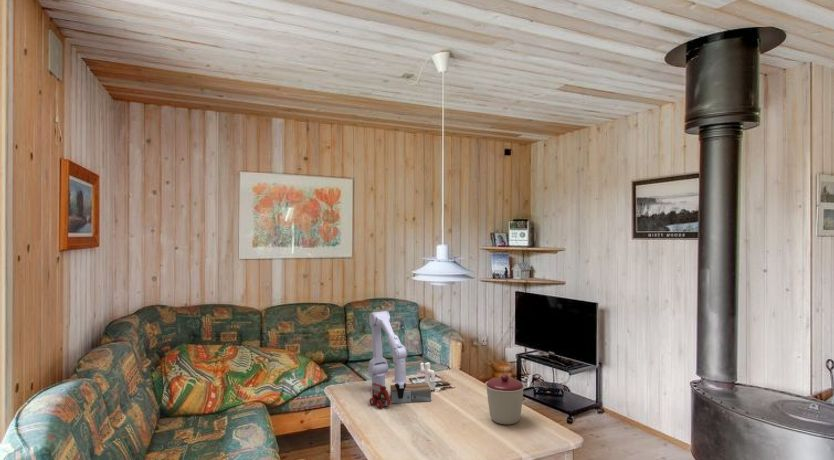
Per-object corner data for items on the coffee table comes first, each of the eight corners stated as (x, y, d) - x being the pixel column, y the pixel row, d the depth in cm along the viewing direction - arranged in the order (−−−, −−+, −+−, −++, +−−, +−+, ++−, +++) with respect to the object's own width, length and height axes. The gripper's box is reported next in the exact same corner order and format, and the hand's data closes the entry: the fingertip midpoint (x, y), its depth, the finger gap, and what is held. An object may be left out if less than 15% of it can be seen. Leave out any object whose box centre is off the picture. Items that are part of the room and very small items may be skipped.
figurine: (430, 393, 250) (430, 365, 250) (416, 390, 256) (416, 362, 256) (438, 390, 256) (438, 362, 256) (425, 386, 262) (424, 360, 262)
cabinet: (390, 396, 247) (390, 384, 247) (427, 393, 250) (427, 382, 250) (392, 404, 235) (392, 392, 235) (431, 402, 238) (431, 390, 238)
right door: (391, 402, 237) (391, 391, 237) (411, 401, 238) (410, 390, 238) (392, 404, 235) (392, 393, 235) (411, 402, 236) (411, 391, 236)
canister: (478, 415, 220) (478, 371, 220) (512, 410, 226) (511, 367, 226) (497, 431, 203) (496, 382, 203) (533, 425, 208) (532, 378, 209)
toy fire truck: (383, 411, 227) (382, 389, 227) (367, 404, 236) (367, 384, 236) (393, 407, 232) (393, 386, 232) (377, 400, 240) (377, 380, 240)
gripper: (391, 367, 243) (391, 394, 242) (393, 375, 228) (393, 403, 228) (404, 367, 244) (405, 393, 243) (407, 375, 229) (408, 402, 229)
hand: (400, 398), depth 236 cm, fingers closed
